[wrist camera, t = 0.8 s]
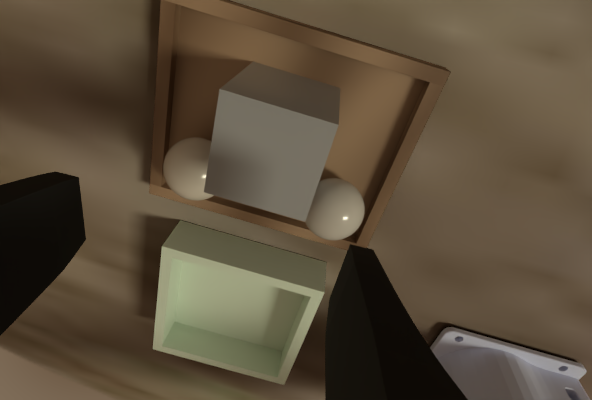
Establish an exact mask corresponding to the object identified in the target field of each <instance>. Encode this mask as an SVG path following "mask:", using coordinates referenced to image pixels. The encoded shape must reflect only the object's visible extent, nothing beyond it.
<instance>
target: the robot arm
mask: <svg viewBox="0 0 592 400" xmlns="http://www.w3.org/2000/svg"><path fill="white" fill-rule="evenodd" d="M85 240H86V236H85V228H84V219H83V211H82V202H81V193H80V185H79V177H75V176H71V175H67V174H63V173H59V172H51V173H46V174H41V175H37V176H33V177H29V178H25V179H21V180H18V181H14V182H10V183H7V184H3V185H0V335H1V334H2V333H3V332H4V331H5V330H6V329H7V328H8V327H9V326H10V325H11V324H12V323H13V322H14V321H15V320H16V319H17V318H18V317H19V316H20V315H21V314H22V313H23V312H24V311H25V310H26V309H27V308H28V307H29V306H30V305H31V304H32V303H33V301H34V300H35V299H36V298H37V297H38V296H39V295H40V294H41V293H42V292H43V291H44V290H45V289H46V288H47V287H48V286H49V285H50V284H51V283H52V282H53V281H54V280H55V279H56V278H57V276H58V275H59V274H60V273H61V272H62V271H63V270H64V269H65V267H66V266H67V265H68V263H69V262H70V261H71V259H72V258H73V257H74V255H75V254H76V253H77V251H78V250H79V248H80V247H81V245H82V244H83V243H84V241H85ZM458 336H459V337H458ZM585 373H586V369H585V368H584V366H583V365H582V364H580V363H577V362H573V361H570V360H566V359H563V358H559V357H556V356H552V355H549V354H545V353H542V352H538V351H535V350H531V349H528V348H524V347H521V346H517V345H514V344H510V343H507V342H503V341H500V340H496V339H493V338H489V337H486V336H482V335H478V334H475V333H471V332H468V331H464V330H461V329H457V328H454V327H447V328H445V329H444V330H443V331H442V332H441V333H440V335H439V336H438V337H437V339H436V340H435V341H434V343H433V344H432V345H431V347H429V346H428V344H427V343H426V341H425V340H424V338H423V337H422V335H421V334H420V332H419V331H418V329H417V327H416V326H415V324H414V323H413V321H412V319H411V318H410V316H409V314H408V312H407V311H406V309H405V307H404V306H403V304H402V302H401V301H400V299H399V297H398V295H397V293H396V292H395V290H394V288H393V286H392V284H391V282H390V281H389V279H388V277H387V275H386V273H385V271H384V269H383V267H382V265H381V264H380V262H379V260H378V258H377V256H376V254H375V252H374V251H373V250H372V249H368V248H364V247H360V246H356V245H352V244H350V246H349V248H348V251H347V254H346V256H345V259H344V262H343V264H342V267H341V270H340V273H339V275H338V278H337V281H336V283H335V286H334V289H333V291H332V294H331V297H330V300H329V308H328V317H327V326H326V341H325V377H326V400H590V399H589V397H588V395H587V394H586V392H585V390H584V388H583V387H582V385H581V383H580V382H579V379H580V378H581V377H582V376H584V375H585Z"/></svg>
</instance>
